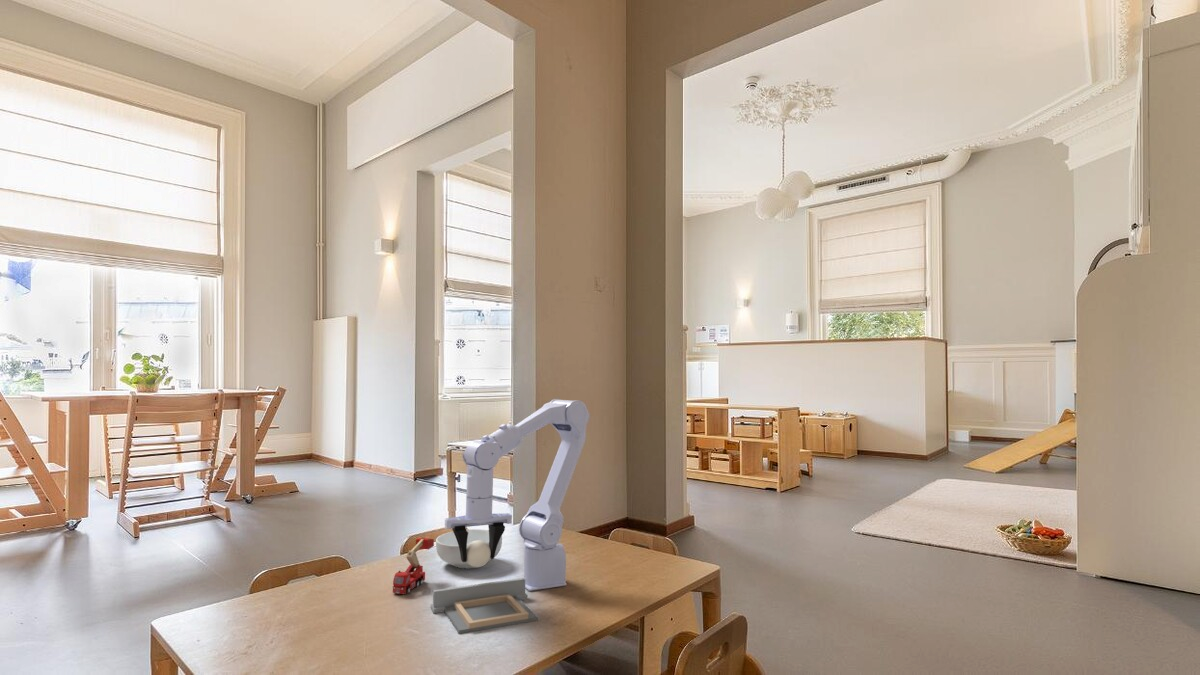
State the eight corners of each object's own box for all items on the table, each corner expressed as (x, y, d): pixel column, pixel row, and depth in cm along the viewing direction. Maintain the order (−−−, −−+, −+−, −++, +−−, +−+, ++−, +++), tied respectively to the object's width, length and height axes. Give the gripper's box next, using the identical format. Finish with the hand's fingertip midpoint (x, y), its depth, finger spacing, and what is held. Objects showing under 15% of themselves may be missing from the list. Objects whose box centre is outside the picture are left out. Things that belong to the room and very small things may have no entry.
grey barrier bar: (522, 594, 139) (523, 576, 139) (527, 598, 136) (527, 580, 137) (430, 608, 130) (431, 588, 130) (433, 613, 127) (434, 593, 128)
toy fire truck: (390, 595, 137) (392, 550, 138) (420, 575, 151) (421, 535, 151) (404, 596, 137) (406, 551, 137) (433, 576, 150) (434, 536, 151)
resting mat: (517, 600, 135) (518, 592, 136) (537, 620, 125) (537, 611, 125) (444, 611, 128) (444, 603, 128) (458, 633, 118) (458, 625, 118)
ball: (486, 561, 140) (487, 536, 140) (493, 568, 135) (494, 542, 135) (461, 564, 137) (462, 538, 138) (467, 571, 132) (468, 545, 133)
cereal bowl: (471, 551, 173) (471, 525, 173) (514, 562, 163) (515, 535, 163) (421, 565, 159) (422, 537, 159) (465, 579, 149) (466, 549, 150)
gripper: (505, 491, 144) (504, 550, 143) (442, 495, 137) (440, 557, 137) (515, 496, 137) (513, 559, 137) (449, 501, 131) (447, 566, 130)
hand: (477, 559), depth 136 cm, fingers closed on ball, 6 cm apart
